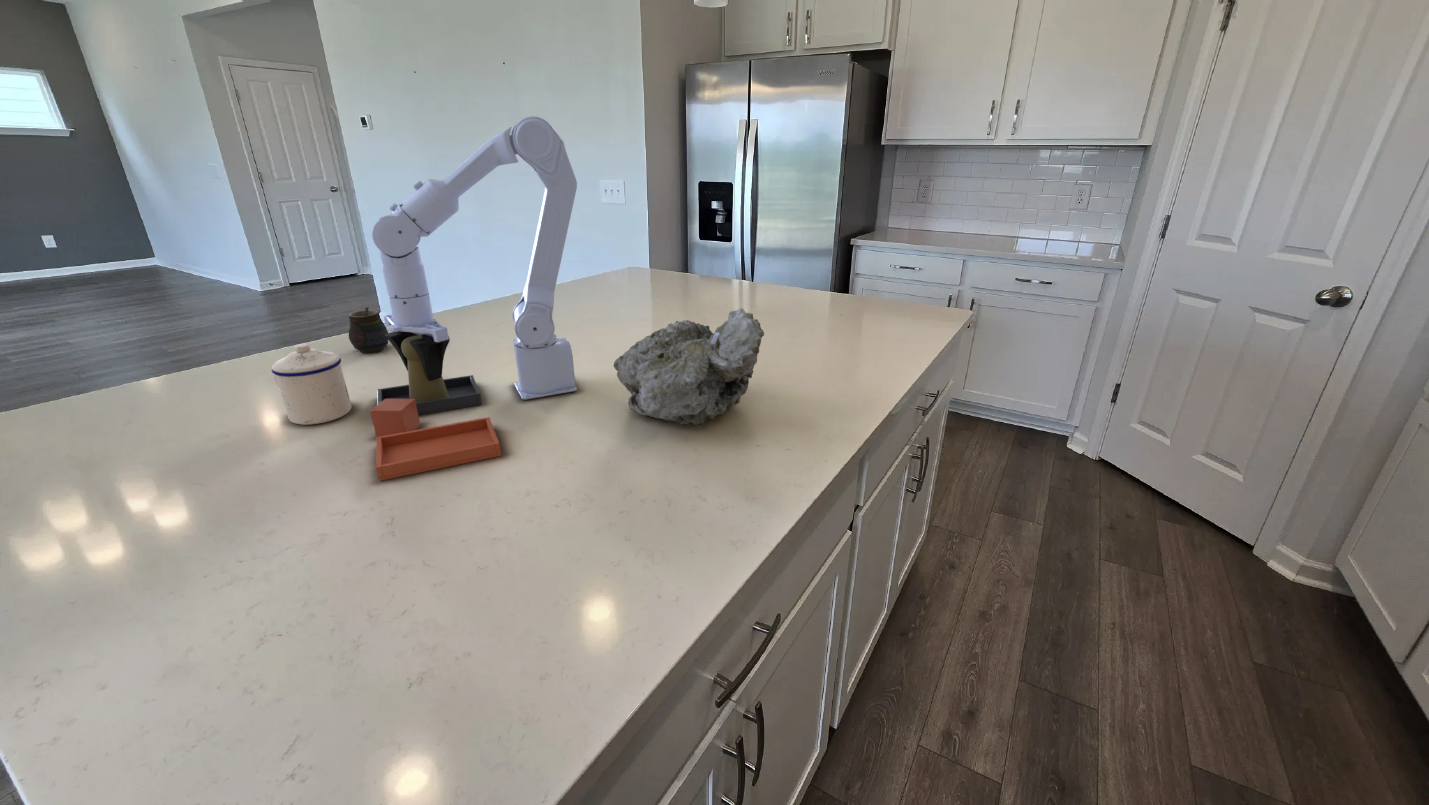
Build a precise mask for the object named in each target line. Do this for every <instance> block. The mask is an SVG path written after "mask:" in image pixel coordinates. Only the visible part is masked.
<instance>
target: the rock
mask: <svg viewBox="0 0 1429 805" xmlns="http://www.w3.org/2000/svg"><path fill="white" fill-rule="evenodd" d="M727 318H728V319H727V320H725V321H724V322H723V323H721V325H719V326H717V327H716V329H715V331H714V333H713V332H712V330H711V329H710V326H709V325H705V324H700V323H699V322H697V323H696V322H695V321H691V320H688V319H686V320H682V321H678V320H676V321H675V322H674V323H672V322H671V323H669V324H667V326H666V327H664V328H663V327H662V328H660V329H658V330H656V331H654V332H652V333H651V334H649V335H647V336H644V338H642V339H640V340H639V341H637V342H635V343H634V344H633V345H632V346H630V348H629V349H628V350H626V351H625V352H624V353H623V354H622V355H619V357H617V358H616V359H615V361H614V362H613V368H614V369H615V371H616V377H617V379H618V380H619V382H620V383H621V385H623V386H624V387H625V389H626V390H627V391H628V392H629V393H630V397H629V398H628V402H627V404H628V406H629V410H630V411H632V412H635V413H637V414H638V415H641V416H648V417H650V418H652V417H653V418H655V419H661V420H663V421H666V422H667V421H668V422H671V421H672V422H675V423H679V424H680V425H689V424H690V423H692V424H693V425H697V426H698V425H700V424H701V425H703V424H704V423H705V422H706V421H707V420H708V419H712V420H713V419H715V417H716V416H717V415H720V416H723V415H724V414H725V411H726V410H728V411H731V410H732V408H733V407H734V405H738V404H739V403H740V401H741V398H742V396H744V395H745V394H746V393H747V390H748V388H749V384H750V379H753V373H754V368H755V366H756V364H757V362H758V355H759V353H760V347H761V344H762V337H764V336H765V332H764V330H763V329H762V327H761V322H760V321H759V319H757V318H754V314H753V313H752V312H746V311H745V310H744V308H739V309H737V310H731V311H729V312H728V316H727Z"/></svg>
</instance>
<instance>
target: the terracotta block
mask: <svg viewBox="0 0 1429 805" xmlns="http://www.w3.org/2000/svg"><path fill="white" fill-rule="evenodd" d="M369 413H370V416H371V421H372V425H373V429H374V432H375V433H374V434H375V437H376V438H377V437H381V436H386V435H391V434H397V433H403V432H408V431H414V430H418V428H419V427H420V426H421V421H420V417H419V416H420V415H418V411H417V407H416V402H415V399H384V400H383V401H382V402H380V403H379V404H378V405H377V404H376V405H375V406H374V407H372V408H371V409H370V410H369Z"/></svg>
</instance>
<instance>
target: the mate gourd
mask: <svg viewBox="0 0 1429 805" xmlns="http://www.w3.org/2000/svg"><path fill="white" fill-rule="evenodd" d="M380 316H381V315H380V311H378V310H376V309H370V306H367V307H365V309H362V310H356V311H352V312H350V313H349V314H348V320H349V328H348V340H349V342H350V343H351V345H352V347H353V348H354V349H355V350H357V351H359V352H361V353H364V354H365V353H366V354H367V353H368V354H369V353H370V354H371V353H376V352H377V353H378V352H380V351H382V350H384V349H385V348H386V347H387V346H388V344H389V340H388V339H387V338H386V336H385V335H386V334H387V333H389V330H388V328H387V327H386V325H385V322H383V320H382V319H381V317H380Z"/></svg>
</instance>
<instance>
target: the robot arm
mask: <svg viewBox="0 0 1429 805" xmlns="http://www.w3.org/2000/svg"><path fill="white" fill-rule="evenodd" d="M516 155H518V156H519V157H520V158H521V159H522V160H523V161H524V162H525V163H527V164H528V165H529V166H530V167H531V168H532V169H533V170H534V172H535V174H536V176H537V178H538V179H539V180H540V182H541V183H542V185H543V186H544V192H543V197H542V202H541V207H540V212H539V217H538V222H537V227H536V232H535V237H534V242H533V247H532V252H531V257H530V262H529V267H528V272H527V276H526V282H525V284H524V287H523V289H522V295H521V298H520V299H519V301H518V302H517V303H516V304H515V306H514V307H513V310H512V319H513V322H514V332H515V336H516V337H515V338H513V346H514V347H513V348H514V354H515V362H516V370H517V378H518V381H516V382H514V387H515V389H516V391H517V392H518V394H519V396H520V398H521V399H522V400H523V401H524V400H525V401H526V400H530V399H536V398H544V397H548V396H549V397H550V396H554V395H561V394H567V393H572V392H577V391H578V388H577V387H576V376H575V367H574V366H575V365H574V357H573V356H574V355H573V351H572V350H573V349H572V346H571V342H570V341H569V339H568V338H567V337H557V335H556V334H555V332H556V331H555V322H554V319H553V312H554V305H555V290H556V286H557V282H558V278H559V277H558V276H559V272H560V267H561V263H562V258H563V254H564V249H565V244H566V240H567V234H568V230H569V226H570V221H571V216H572V212H573V208H574V203H575V198H576V194H577V188H578V182H577V179H576V175H575V173H574V170H573V167H572V164H571V161H570V159H569V155H568V152H567V150H566V146H565V142H564V140H563V139H562V138H561V136H560V135H559V134H558V132H557V131H556V130H555V128H554V127H553V126H552V124H551V123H549V121H547V119H544V118H543V117H539V116H537V115H536V116H535V115H530V116H526V117H523V118H522V119H520V120H519V121H518V122H516V124H514V126H513V127H512V126H511V127H508V128H506V129H505V130H503V131H501V132H499V133H497V134H496V135H494V136H492V137H490V138H489V139H488V140H487V141H485V142H484V143H483V144H482V145H481V146H480V147H478V148H477V149H476V150H475V151H474V152H473V153H471V155H470V156H468V157H467V159H464V161H463V162H462V163H461V164H460V165H459V166H457V167H456V168H455V169H454V170H453V171H452V172H451V173H449V175H447V176H446V177H445V178H444V179H434V178H427V179H426V180H425V181H424V182H423V181H422V180H418V181H417V182H416V183H415V184H413V188H414V190H413V191H412V192H411V193H410V194H409V195H407V197H406V196H405V198H404V199H403V200H402V201H401V202H399V203H398V204H397V203H393V204H392V205H390V206H389V210H390V211H391V213H389V214H386V215H383V216H381V217H379V218H378V220H377V221H376V223H375V224H374V225H373V228H372V230H371V231H372V232H371V237H372V240H373V243H374V245H375V246H376V248H377V249H378V250H379V257H380V260H381V264H382V266H381V269H382V274H383V278H384V283H385V288H386V292H387V297H388V301H389V305H390V309H391V314H386V315H383V319H384V320H383V321H384V325H385V327H386V328H387V331H388V333H387V334H386V335H385V336H386V338H387V339H388V342H389V343H390V344H391V345H392V346H393V348H394V349H395V350H396V352H397V353H398V355H399V357H400V359H401V362H403V365H404V367H405V369H406V371H407V372H408V362H407V358H406V357H405V356H404V355H403V353H402V350H401V344H402V342H403V340H404V339H406V338H408V337H412V336H417V335H422V338H421V339H417V340H413V341H410V344H411V345H412V346H413V348H414V349H415V351H416V352H417V354H418V356H419V358H420V360H421V362H422V366H423V369H424V372H425V375H426V377H427V379H428V380H429V381H432V380H435V379H438V378H441V377H442V378H443V368H444V366H443V364H444V358H445V354H446V350H447V348H448V345H449V343H450V341H451V340H450V339H451V338H450V336H449V331H448V327H446V326H443V325H442V324H441V323H440V322H439V321H437V320H436V319H435V318H434V314H433V309H432V304H431V298H430V293H429V287H428V282H427V278H426V271H425V266H424V263H423V262H422V258H421V252H420V247H419V246H418V245H419V243H420V241H421V238H425V237H426V238H427V237H429V236H431V234H433V233H434V232H435V231H436V230H438V229H439V227H441V226H442V225H443V224H445V222H447V221H448V220H449V219H450V218H452V217H453V216H454V215H455V214H456V213H457V212H459V210H460V209H459V208H460V207H459V206H460V205H459V198H460V197H461V196H462V195H464V194H465V193H466V192H468V191H469V190H470V189H471V188H472V187H473V186H475V185H476V184H477V183H479V182H480V181H481V180H482V179H484V178H485V177H486V176H487V175H488V174H490V173H491V172H493V171H494V170H495V169H496V168H498V167H499V166H504V165H510V164H516V163H519V160H518V158H517V156H516Z"/></svg>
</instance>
